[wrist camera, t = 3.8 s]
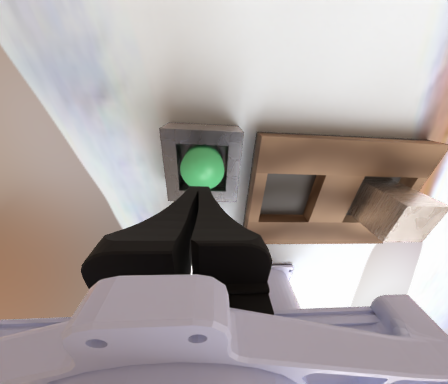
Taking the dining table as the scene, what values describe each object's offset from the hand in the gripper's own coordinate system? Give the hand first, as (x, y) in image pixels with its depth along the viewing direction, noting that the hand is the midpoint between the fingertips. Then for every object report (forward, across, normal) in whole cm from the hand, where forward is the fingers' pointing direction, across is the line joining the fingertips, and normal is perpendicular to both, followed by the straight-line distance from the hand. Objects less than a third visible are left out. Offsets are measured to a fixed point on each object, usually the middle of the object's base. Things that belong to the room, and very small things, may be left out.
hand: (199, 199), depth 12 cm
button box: (+8, 0, 0) cm, 8 cm away
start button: (+7, 0, 0) cm, 7 cm away
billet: (+8, -21, +4) cm, 23 cm away
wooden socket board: (+8, -16, +4) cm, 18 cm away
